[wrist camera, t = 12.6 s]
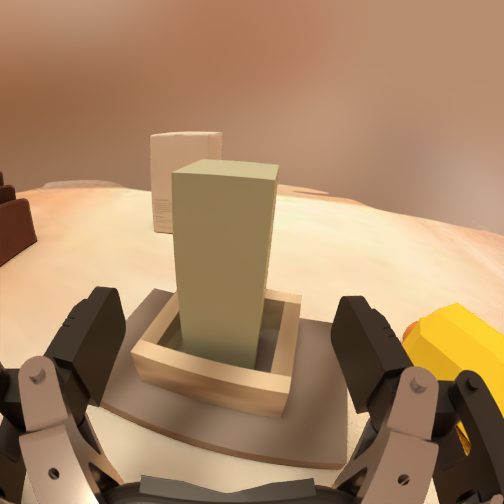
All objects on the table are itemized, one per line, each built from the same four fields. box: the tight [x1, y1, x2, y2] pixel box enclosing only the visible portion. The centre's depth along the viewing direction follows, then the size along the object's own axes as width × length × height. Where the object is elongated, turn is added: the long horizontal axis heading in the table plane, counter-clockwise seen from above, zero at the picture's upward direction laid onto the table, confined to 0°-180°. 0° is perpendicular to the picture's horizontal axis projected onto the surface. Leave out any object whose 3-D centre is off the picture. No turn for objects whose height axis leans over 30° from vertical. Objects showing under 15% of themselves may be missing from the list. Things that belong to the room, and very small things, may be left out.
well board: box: [100, 288, 347, 469], centre depth 18 cm, size 18×13×4 cm
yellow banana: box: [402, 303, 504, 442], centre depth 13 cm, size 18×7×8 cm
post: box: [171, 159, 279, 370], centre depth 16 cm, size 4×4×13 cm
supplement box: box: [150, 132, 223, 233], centre depth 40 cm, size 9×9×15 cm
